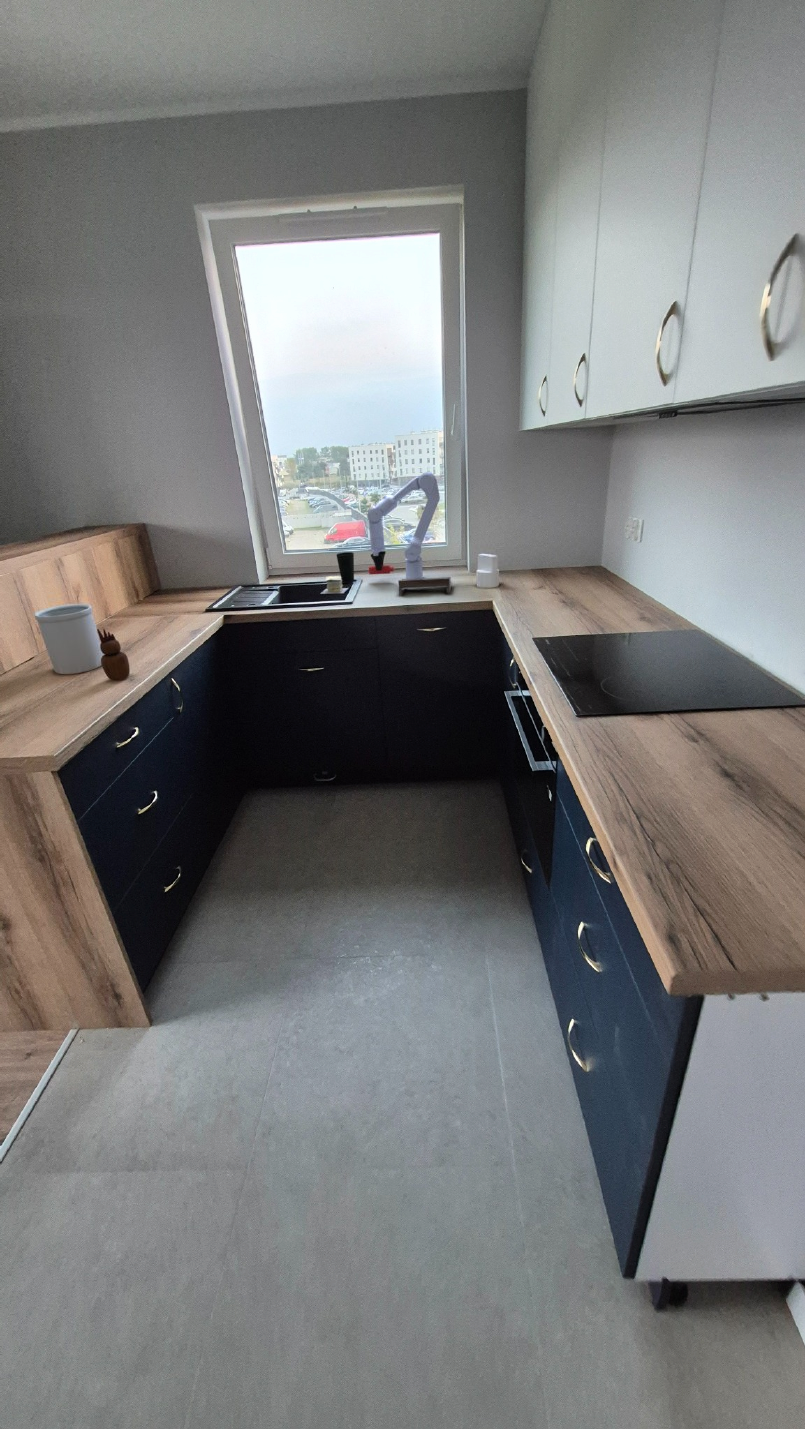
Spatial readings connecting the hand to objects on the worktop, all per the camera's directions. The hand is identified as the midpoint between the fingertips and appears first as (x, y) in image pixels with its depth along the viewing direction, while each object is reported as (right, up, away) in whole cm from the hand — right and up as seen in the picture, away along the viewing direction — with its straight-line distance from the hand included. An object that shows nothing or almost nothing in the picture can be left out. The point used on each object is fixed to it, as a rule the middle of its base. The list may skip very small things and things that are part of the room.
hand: (379, 569), depth 249 cm
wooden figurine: (-70, -53, -87) cm, 123 cm away
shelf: (+19, -13, -17) cm, 29 cm away
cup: (-15, -3, +10) cm, 18 cm away
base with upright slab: (+45, -10, -15) cm, 48 cm away
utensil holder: (-87, -48, -75) cm, 125 cm away
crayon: (0, -1, +1) cm, 1 cm away
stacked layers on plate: (-19, -11, -6) cm, 22 cm away
